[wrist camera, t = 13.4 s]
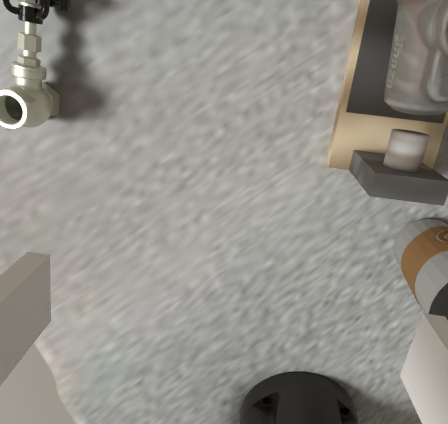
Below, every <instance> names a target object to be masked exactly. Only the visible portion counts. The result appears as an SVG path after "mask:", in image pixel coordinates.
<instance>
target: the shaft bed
mask: <svg viewBox="0 0 448 424" xmlns="http://www.w3.org/2000/svg"><path fill="white" fill-rule="evenodd" d="M397 10H398V3H397V1H396V0H360V3H359V8H358V13H357V18H356V23H355V28H354V32H353V37H352V42H351V47H350V52H349V57H348V61H347V66H346V71H345V76H344V81H343V85H342V90H341V95H340V100H339V105H338V110H337V114H336V119H335V124H334V129H333V134H332V139H331V143H330V148H329V153H328V158H327V163H326V164H327V165H328V167H331V168H339V169H347V170H349V171H350V172H351V173H352V174H353V176H354V177H355V178H356V179H357V181H358V182H359V183H360V185H361V186H362V187H363V188H364V190H365V191H366V192H367V193H368V195H369V196H372V197H380V198H388V199H396V200H404V201H412V202H420V203H428V204H436V205H444V203H445V200H446V197H447V194H448V179H446V178H445V177H443V176H442V175H440V174H439V173H437V172H436V171H434V170H433V168H434V164H435V161H436V158H437V155H438V151H439V148H440V145H441V142H442V138H443V135H444V132H445V129H446V125H447V122H448V111H447V112H445V113H443V114H439V115H414V114H407V113H403V112H399V111H396V110H394V109H393V108H391V107H390V106H389V105H388V104H387V103H386V102H385V101H384V94H385V86H386V79H387V73H388V67H389V60H390V54H391V48H392V41H393V35H394V29H395V23H396V16H397Z"/></svg>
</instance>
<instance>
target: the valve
mask: <svg viewBox="0 0 448 424" xmlns="http://www.w3.org/2000/svg"><path fill="white" fill-rule="evenodd" d="M21 1H22V2H21ZM3 3H4V6H5V7H6V8H7V9H8V10H9V11H10V12H12V13H14V14H18V19H19V20H22V21H24V33H22V32H20V33H18V48H19V49H22V55H21V56H18V59H17V62H11V74H12V75H14V76H15V82H14V84H13V85H11V86H10V87H9V88H6V89H3V90H1V91H0V125H2V126H3V127H4V128H6V129H7V130H12V129H15V128H18V127H21V126H22V127H36V126H39V125H41V124H43V123H44V122H45V121H46V120H47V119H48V118H49V117H51V116H54V115H57V114H59V102H60V95H59V94H58V93H57V92H56V91H54V90H53V89H52V88H51V87H50V86H49V85H47V84H46V83H45V82H42V80H45V79H46V70H47V69H46V68H45V67H43V66H40V63H41V60H39V59H38V58H37V57H36V52H41V41H42V38H41V37H40V36H37V35H36V27H37V24H43V20H44V19H45V18H46V17H47V16H48V13H49V7H52V6H53V4H54V5H59V9H61V10H65V11H69V7H70V0H20V1H18V8H17V7H13V6H12V5H11V4H10V2H9V0H3Z"/></svg>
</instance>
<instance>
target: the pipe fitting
mask: <svg viewBox="0 0 448 424" xmlns="http://www.w3.org/2000/svg"><path fill="white" fill-rule="evenodd" d="M396 1H397V3H398V10H397V16H396V23H395V29H394V35H393V41H392V48H391V54H390V60H389V67H388V73H387V79H386V86H385V94H384V101H385V102H386V103H387V104H388V105H389V106H390V107H391V108H393V109H394V110H396V111H399V112H403V113H407V114H414V115H439V114H443V113H445V112H447V111H448V0H396Z"/></svg>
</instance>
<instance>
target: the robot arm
mask: <svg viewBox="0 0 448 424" xmlns="http://www.w3.org/2000/svg"><path fill="white" fill-rule="evenodd" d="M50 321H51V302H50V255H46V254H40V253H33V252H27V253H26V254H25V255H24V256H23V257H22V258H20V259H19V260H18V261H17V262H16V263H15V264H13V265H12V266H11V267H10V268H9V269H8V270H7V271H5V272H4V273H3V274H2V275H1V276H0V386H1V384H2V383H3V382H4V380H5V379H6V378H7V377H8V375H9V374H10V373H11V371H12V370H13V369H14V368H15V366H16V365H17V364H18V362H19V361H20V360H21V358H22V357H23V356H24V355H25V353H26V352H27V351H28V349H29V348H30V347H31V345H32V344H33V343H34V342H35V340H36V339H37V338H38V336H39V335H40V334H41V333H42V331H43V330H44V329H45V327H46V326H47V325H48V323H49V322H50ZM400 377H401V379H402V381H403V383H404V386H405V388H406V390H407V392H408V394H409V396H410V399H411V401H412V403H413V405H414V407H415V410H416V412H417V414H418V416H419V418H420V420H421V423H422V424H448V320H447V319H446V317H445V316H438V315H432V314H425V313H423V314H422V317H421V320H420V322H419V325H418V328H417V331H416V333H415V336H414V339H413V341H412V344H411V347H410V350H409V352H408V355H407V358H406V360H405V363H404V366H403V369H402V371H401V374H400ZM240 424H358V419H357V415H356V412H355V408H354V405H353V402H352V400H351V398H350V397H349V395H348V394H347V393H346V392H345V390H344V389H343V388H341V387H340V386H339V385H338V384H336V383H335V382H333V381H331V380H329V379H327V378H325V377H322V376H319V375H315V374H311V373H303V372H292V373H284V374H279V375H276V376H272V377H270V378H268V379H265V380H264V381H262V382H260V383H259V384H257V385H256V386H255V387H254V388H252V390H251V391H250V392H249V393H248V394H247V396H246V397H245V399H244V401H243V403H242V407H241V414H240Z"/></svg>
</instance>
